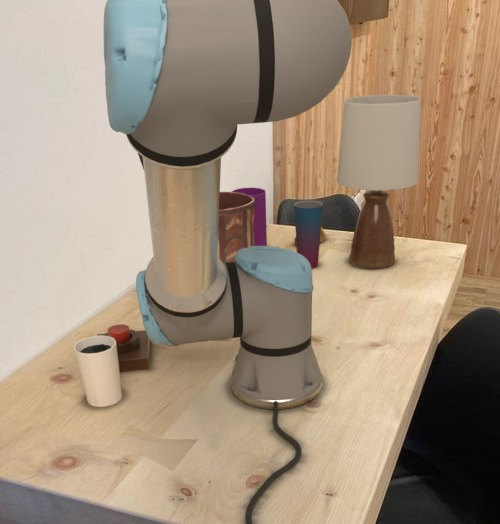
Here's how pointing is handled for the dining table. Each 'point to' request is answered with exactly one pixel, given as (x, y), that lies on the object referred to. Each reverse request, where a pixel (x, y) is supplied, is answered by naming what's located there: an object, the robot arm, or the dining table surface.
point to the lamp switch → (119, 332)
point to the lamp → (378, 167)
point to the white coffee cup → (99, 370)
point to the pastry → (322, 236)
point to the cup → (308, 229)
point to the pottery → (235, 224)
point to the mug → (258, 214)
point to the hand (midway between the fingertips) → (174, 224)
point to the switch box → (133, 351)
